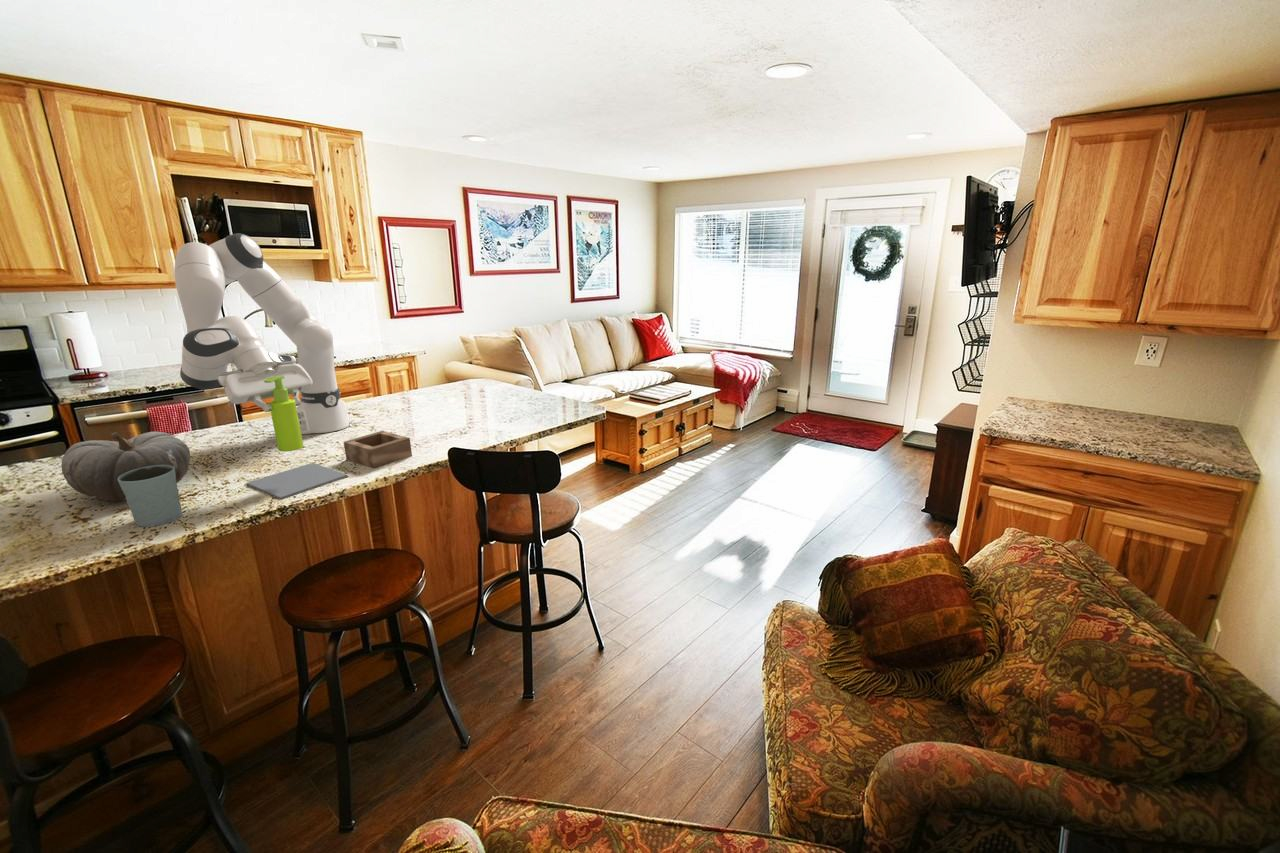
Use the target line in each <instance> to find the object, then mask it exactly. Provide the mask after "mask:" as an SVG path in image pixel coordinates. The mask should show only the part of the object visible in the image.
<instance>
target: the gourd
mask: <svg viewBox="0 0 1280 853" xmlns="http://www.w3.org/2000/svg"><path fill="white" fill-rule="evenodd" d="M111 437H112V438H113V439H114V440H105V439H104V440H103V439H102V440H94V439H93V440H86V441H80V442H76V443H73V444H72V445H71V446H69V447H68V449H67V450H66V452H65V453H64V454H63V456H62V458H61V473H62V475H63V477H64V479H65V481H66V482H67V484H68V485H69V487H71V488H72V489H74V490H75V491H76V492H77V493H80V494H82V495H85V496H87V497H91V498H96V499H99V500H105V501H111V502H117V501H122V500H127V499H126V496H125V495H124V492H123V490H122V489H121V486H120V484H119V482H118V477H119V476H120V475H122V474H124V473H126V472H128V471H131V470H134V469H138V468H142V467H147V466H154V465H171V466H173V467H174V468H175V475H176V483H177V484H178V483H179V482H181V481H182V480H183V478H184V477H185V476H186V474H187V473H188V471H189V468H190V465H191V464H190V462H191V461H190V460H191V451H190V448H189V447H188V445H187V443H185V442H184V441H183V440H181V439H179V438H177V437H176V436H173V435H172V434H170V433H167V432H163V431H149V432H144V433H141V434H139V435H135V436H132V437H131V438H129V439H126V438H124V437H123V436H121V435H120V434H119V432H113V433H111ZM115 440H116V441H115Z"/></svg>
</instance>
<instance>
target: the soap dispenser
mask: <svg viewBox="0 0 1280 853" xmlns="http://www.w3.org/2000/svg"><path fill="white" fill-rule="evenodd" d="M283 378H285V377H284V376H274V377H270V378H268V379H266V380H265V381H264V382H265V383H272V382H273V381H274V382H275V387H276V388H274V389H273V390H272V392H273V401H270V402H269V403H270V404H271V406H272V408H273V409H272V411H270V415H271V420H272V425H273V428H274V435H275V439H276V446H277V448H278V449H277V450H278V451H279V452H293V451H298V450H300V449H302V448H304V442H303V437H302V434H301V430H300V425H299V419H298V414H297V409H296V408H297V406H296V403H295V400H293V398H292V399H291V398H290V396H289V395H290V394H289V395H288V390H287V388H285V387H283V384H282V379H283Z"/></svg>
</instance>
